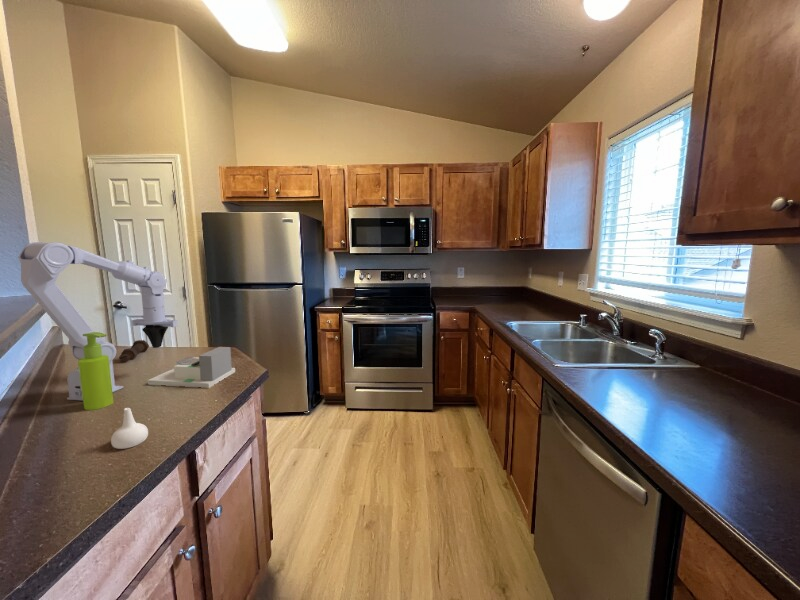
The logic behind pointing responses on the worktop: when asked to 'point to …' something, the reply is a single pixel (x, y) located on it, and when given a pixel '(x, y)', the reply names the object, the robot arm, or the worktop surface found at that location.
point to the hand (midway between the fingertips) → (157, 347)
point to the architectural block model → (199, 371)
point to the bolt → (134, 350)
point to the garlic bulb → (129, 432)
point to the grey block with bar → (189, 361)
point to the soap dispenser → (95, 375)
